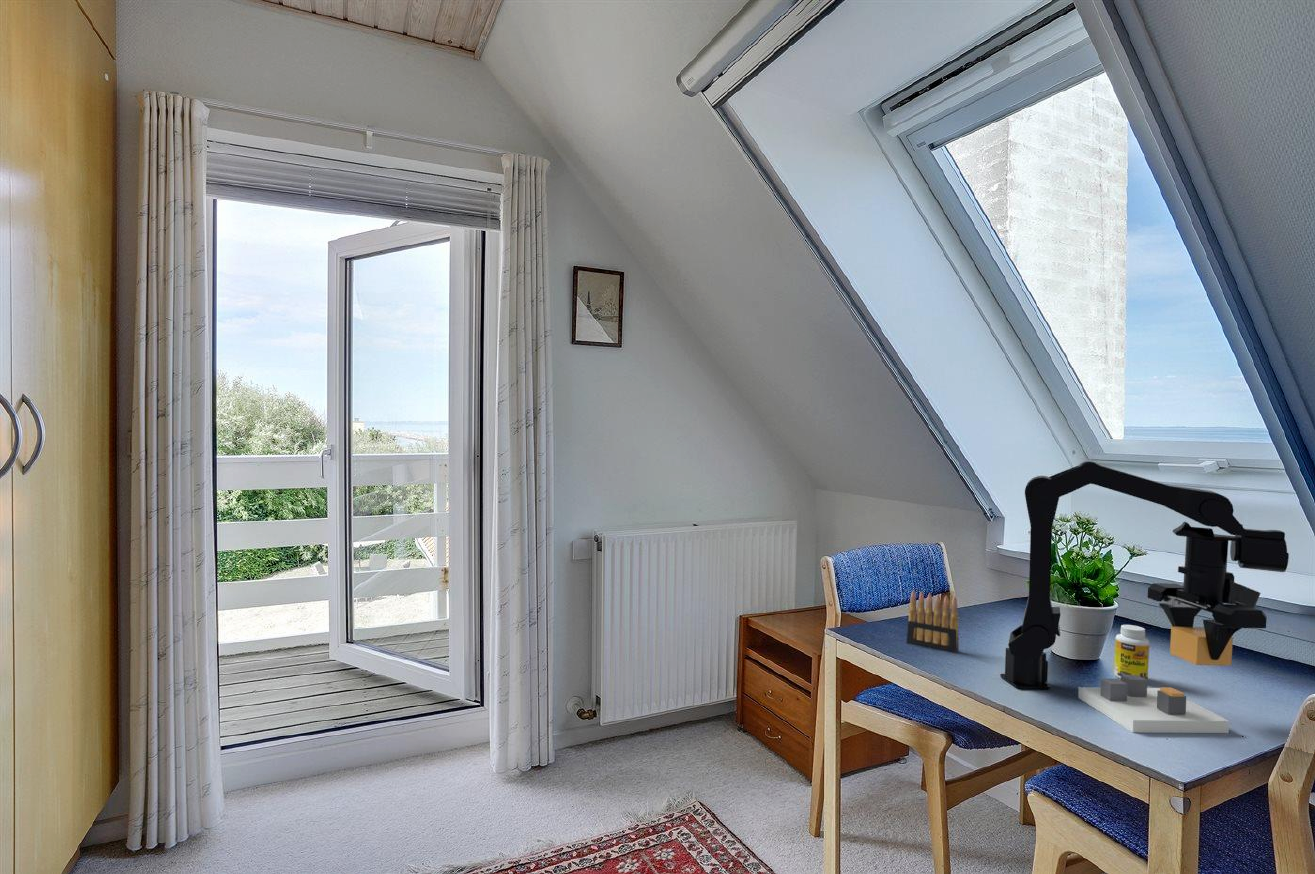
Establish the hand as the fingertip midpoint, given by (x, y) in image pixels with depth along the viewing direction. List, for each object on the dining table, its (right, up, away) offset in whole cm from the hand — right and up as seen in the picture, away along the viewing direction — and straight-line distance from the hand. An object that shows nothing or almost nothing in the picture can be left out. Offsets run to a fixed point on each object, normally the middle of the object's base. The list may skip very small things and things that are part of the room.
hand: (1199, 653), depth 122 cm
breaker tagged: (-8, -9, -4) cm, 12 cm away
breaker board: (-9, -10, 0) cm, 14 cm away
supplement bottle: (-1, -10, +17) cm, 20 cm away
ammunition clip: (-33, -9, +34) cm, 48 cm away
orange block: (0, -1, 0) cm, 1 cm away
